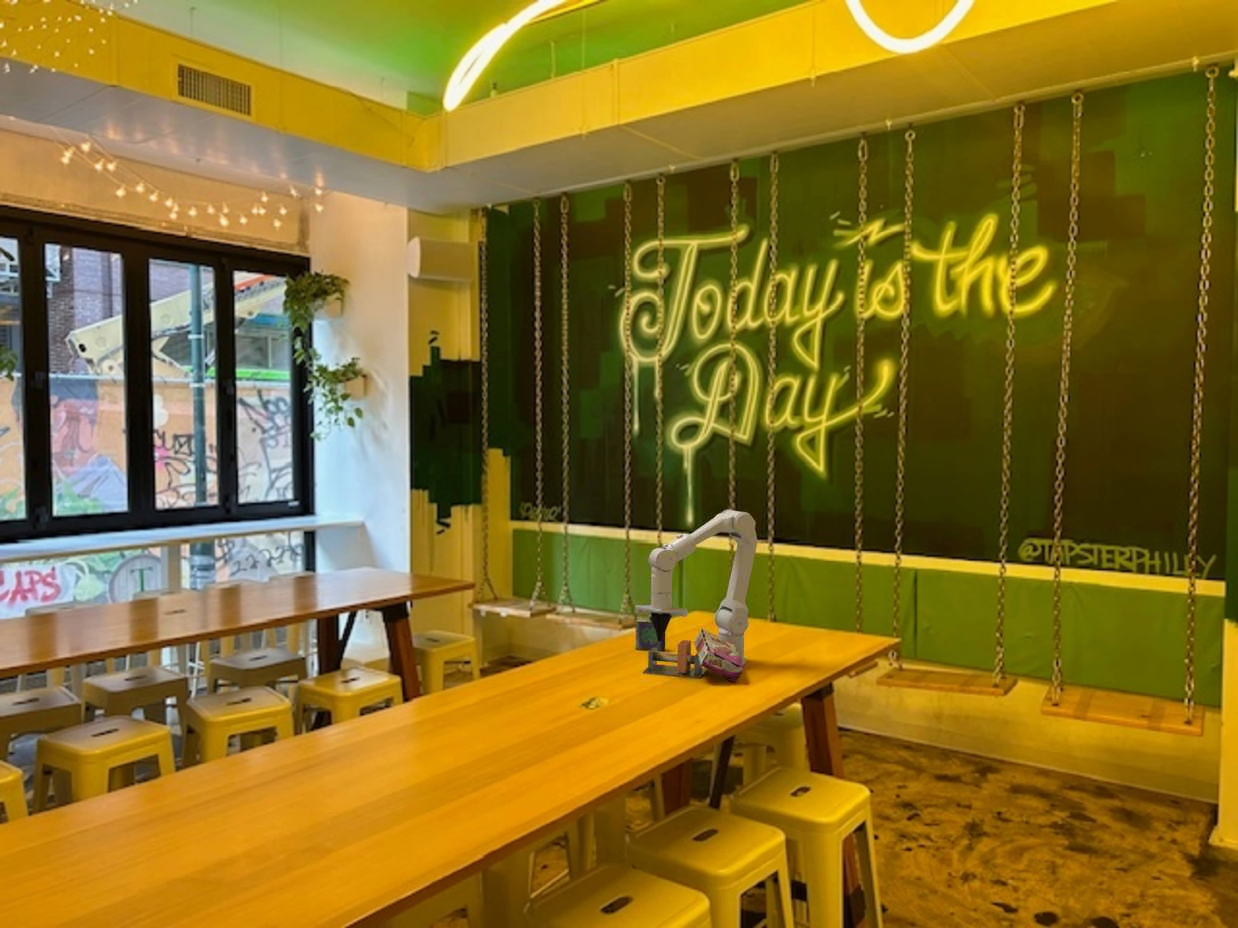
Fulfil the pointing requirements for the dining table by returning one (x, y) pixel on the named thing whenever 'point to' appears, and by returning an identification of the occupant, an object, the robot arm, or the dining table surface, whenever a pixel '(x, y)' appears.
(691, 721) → the dining table surface
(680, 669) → the orange block
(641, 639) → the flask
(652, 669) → the pipe rig
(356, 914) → the dining table surface
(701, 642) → the candy bar box
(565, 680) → the dining table surface
